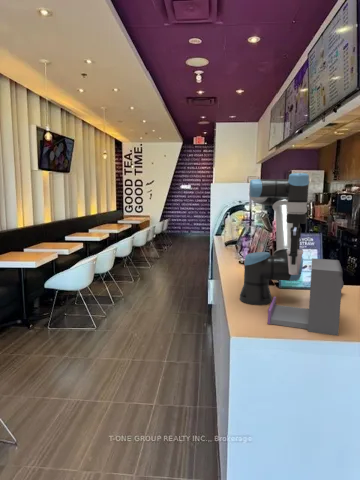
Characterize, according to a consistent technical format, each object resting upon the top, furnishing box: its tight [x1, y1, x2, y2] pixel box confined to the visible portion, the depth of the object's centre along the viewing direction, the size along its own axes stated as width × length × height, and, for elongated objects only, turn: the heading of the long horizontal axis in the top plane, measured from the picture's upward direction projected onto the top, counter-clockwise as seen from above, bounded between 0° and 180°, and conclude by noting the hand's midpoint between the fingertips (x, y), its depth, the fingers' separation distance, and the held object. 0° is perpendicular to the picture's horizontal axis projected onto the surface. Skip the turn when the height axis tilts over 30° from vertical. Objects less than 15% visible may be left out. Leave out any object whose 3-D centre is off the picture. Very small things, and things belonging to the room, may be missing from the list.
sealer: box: [307, 258, 344, 336], centre depth 138 cm, size 10×23×24 cm, turn 159°
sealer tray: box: [267, 296, 309, 330], centre depth 144 cm, size 16×20×6 cm
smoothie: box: [287, 248, 304, 275], centre depth 140 cm, size 6×6×14 cm
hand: (293, 270), depth 140 cm, fingers closed on smoothie, 6 cm apart
